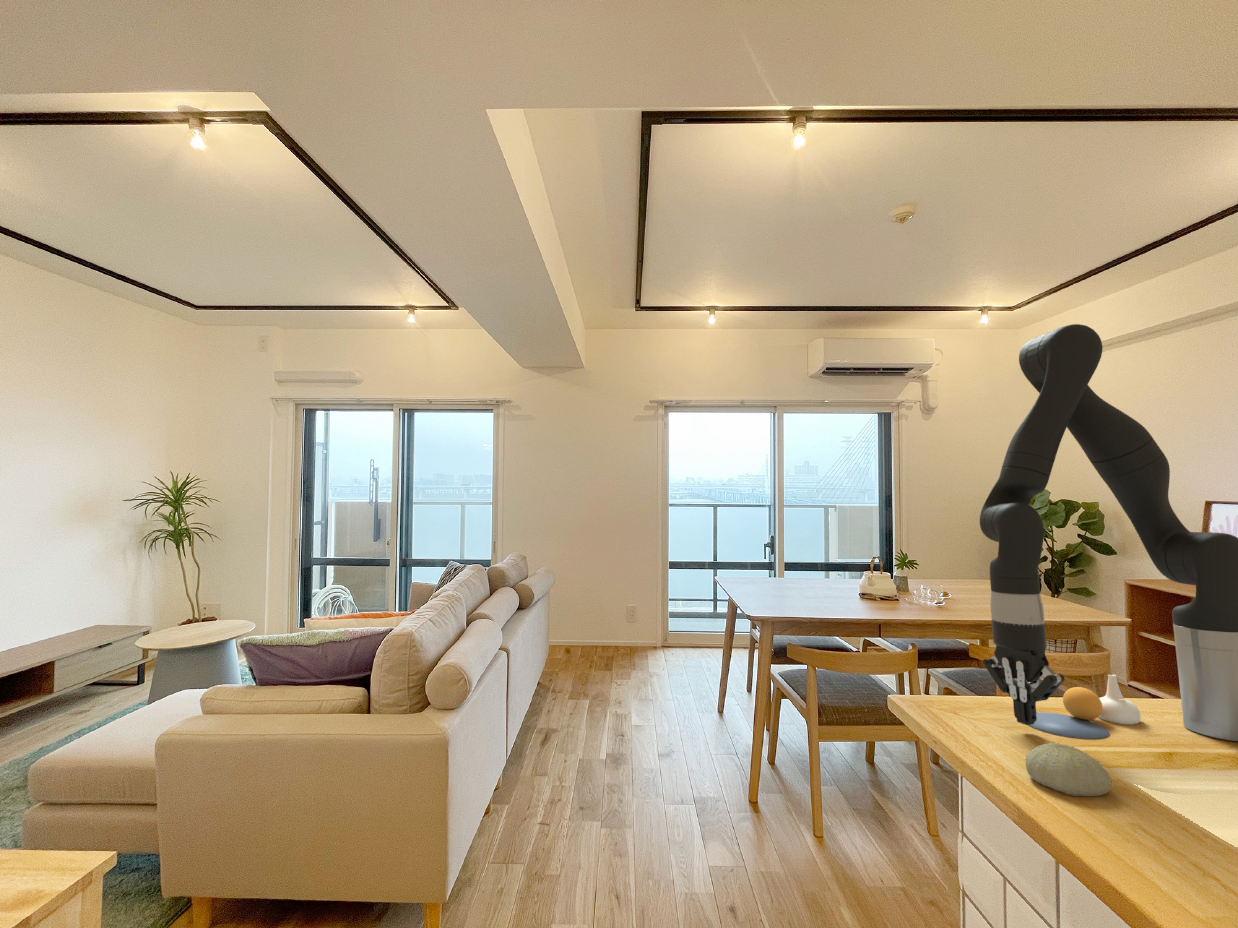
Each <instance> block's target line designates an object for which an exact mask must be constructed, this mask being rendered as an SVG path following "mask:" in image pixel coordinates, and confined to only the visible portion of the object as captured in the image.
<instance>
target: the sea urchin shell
mask: <svg viewBox="0 0 1238 928" xmlns="http://www.w3.org/2000/svg"><path fill="white" fill-rule="evenodd" d="M1025 768H1026V769H1025V770H1026V771H1027V774H1028V775H1029V776H1030V778H1032V779H1033V780H1034V781H1036V782H1037V783H1038V784H1041V785H1043V786H1044V787H1047V788H1051V789H1053V790H1054V791H1057V792H1059V793H1063V794H1065V795H1068V796H1073V797H1097V796H1098V797H1099V796H1102V795H1105V794H1106V795H1107V793H1109V791H1110V789H1111V788H1112V778H1111V776H1110V774H1109V773H1108V771H1107V770H1106V768H1105V767H1104V766H1103V764H1101V763H1100V762H1099V761H1098V760H1096V759H1095V758H1093V757H1092V756H1091V755H1089V754H1088V753H1087V752H1084V751H1083V750H1080V749H1079V748H1076V747H1074V746H1070V745H1068V744H1061V743H1056V742H1047V743H1043V744H1040V745H1038V746H1035V748H1033V749H1032V750H1030V751H1029V752H1028V754H1027V755H1026V758H1025Z"/></svg>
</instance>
